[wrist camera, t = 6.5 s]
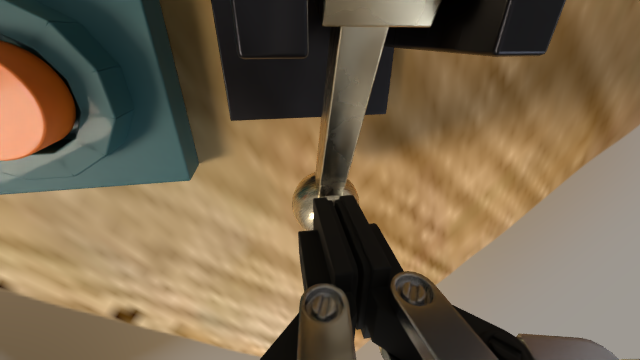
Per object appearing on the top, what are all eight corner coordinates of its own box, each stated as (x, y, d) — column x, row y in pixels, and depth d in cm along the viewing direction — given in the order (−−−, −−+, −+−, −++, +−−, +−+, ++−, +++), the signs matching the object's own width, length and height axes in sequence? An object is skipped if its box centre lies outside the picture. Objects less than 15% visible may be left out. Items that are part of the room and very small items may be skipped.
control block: (15, 176, 15) (-61, 218, 11) (-130, -52, 10) (-336, -97, 7) (199, 164, 16) (181, 198, 13) (150, -40, 12) (99, -72, 8)
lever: (345, 191, 15) (358, 243, 13) (290, 195, 15) (295, 251, 13) (464, -222, 4) (608, -241, 3) (274, -253, 4) (296, -301, 2)
